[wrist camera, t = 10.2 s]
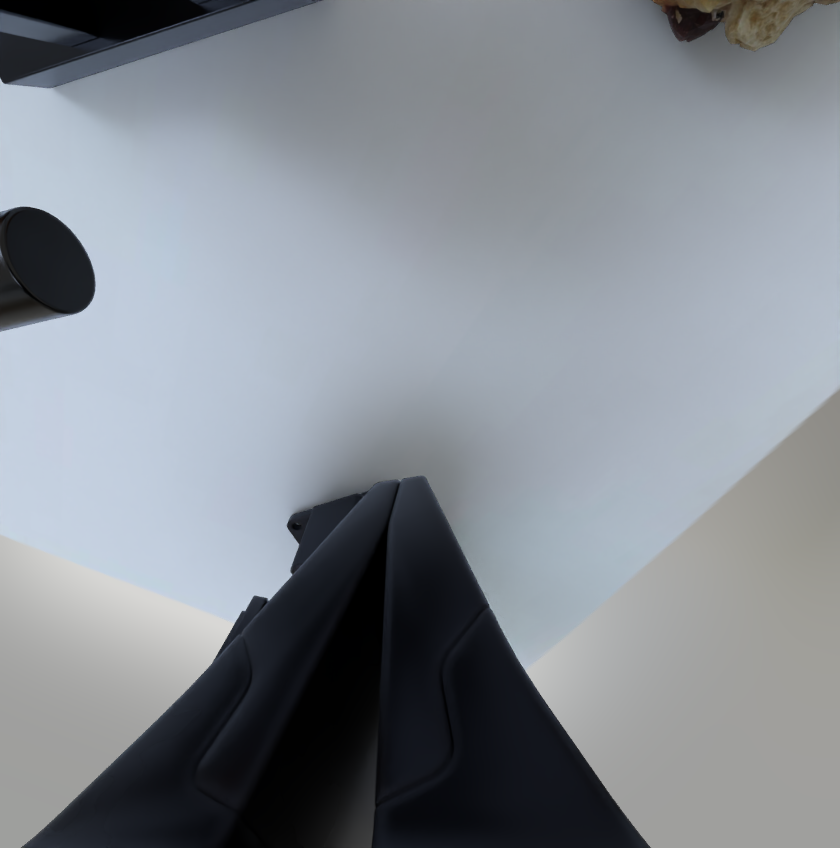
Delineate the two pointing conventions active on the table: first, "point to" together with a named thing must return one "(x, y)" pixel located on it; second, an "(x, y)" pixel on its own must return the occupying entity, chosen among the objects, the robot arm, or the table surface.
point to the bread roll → (735, 18)
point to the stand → (110, 32)
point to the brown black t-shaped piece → (40, 269)
